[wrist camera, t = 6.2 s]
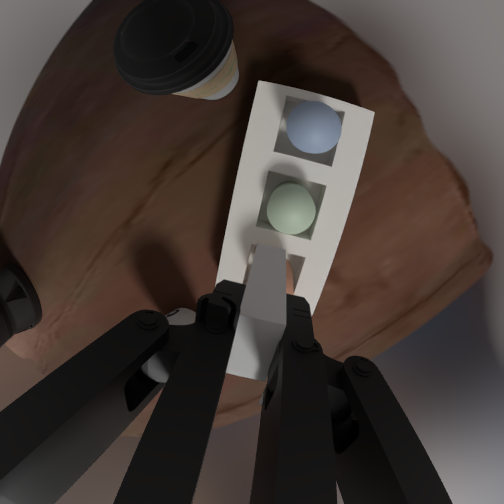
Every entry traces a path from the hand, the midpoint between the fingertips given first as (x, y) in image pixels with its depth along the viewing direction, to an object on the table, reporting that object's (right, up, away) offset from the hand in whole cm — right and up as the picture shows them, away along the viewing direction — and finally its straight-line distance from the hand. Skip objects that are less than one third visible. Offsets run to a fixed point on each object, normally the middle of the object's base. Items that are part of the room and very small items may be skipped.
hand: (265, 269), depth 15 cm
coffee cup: (-5, +21, +13) cm, 25 cm away
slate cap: (+5, +13, +11) cm, 17 cm away
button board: (+4, +7, +17) cm, 18 cm away
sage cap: (+4, +7, +16) cm, 17 cm away
